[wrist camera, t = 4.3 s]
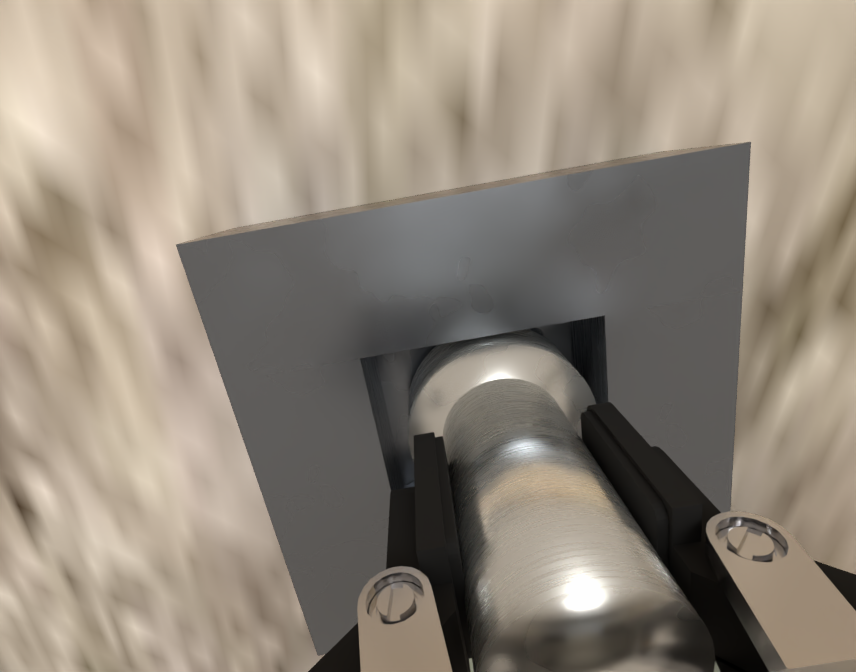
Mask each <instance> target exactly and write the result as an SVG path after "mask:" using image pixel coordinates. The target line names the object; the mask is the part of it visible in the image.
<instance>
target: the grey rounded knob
mask: <svg viewBox="0 0 856 672" xmlns="http://www.w3.org/2000/svg"><path fill="white" fill-rule="evenodd" d="M594 404H596V402H595V398H594V396H593V394H592V391H591V389H590V387H589V386H588V384H587V383H586V381H585V380H584V378H583V377H582V376H581V375H580V373H579V372H578V371H577V370H576V369H575V368H574V367H573V365H572V364H571V363H570V362H569V361H568V360H567V359H566V357H565V356H564V355H563V354H562V353H561V352H560V351H559V350H558V348H557V347H556V346H555V345H554V344H553V343H551V342H550V341H549V340H548V339H547V338H545V337H543V336H542V335H540V334H538V333H537V332H535V331H532V330H530V329H525V330H519V331H513V332H508V333H502V334H496V335H491V336H485V337H479V338H474V339H468V340H462V341H457V342H451V343H445V344H440V345H437V346H436V347H435V348H433V349H432V350H431V351H430V352H429V354H428V355H427V356H426V357H425V358H424V359H423V361H422V363H421V364H420V366H419V367H418V369H417V371H416V373H415V375H414V377H413V380H412V383H411V387H410V392H409V402H408V433H409V447H410V452H411V456H412V459H413V462H414V435H419V434H424V433H430V432H434V434H435V437H440V436H443V440H444V445H445V451H446V456H447V462H448V468H449V475H450V482H451V489H452V496H453V503H454V510H455V517H456V524H457V532H458V539H459V546H460V553H461V560H462V567H463V574H464V581H465V597H464V600H465V609H466V617H467V624H468V632H469V639H470V647H471V654H472V662H473V669H474V672H714V667H715V648H714V644H713V640H712V638H711V635H710V633H709V631H708V629H707V627H706V626H705V624H704V623H703V621H702V620H701V618H700V617H699V615H698V614H697V612H696V611H695V609H694V608H693V606H692V605H691V603H690V602H689V600H688V599H687V597H686V596H685V594H684V593H683V591H682V590H681V588H680V587H679V585H678V584H677V582H676V581H675V579H674V578H673V576H672V575H671V573H670V572H669V570H668V569H667V567H666V566H665V564H664V563H663V561H662V560H661V558H660V557H659V555H658V554H657V552H656V551H655V549H654V548H653V546H652V545H651V543H650V542H649V540H648V539H647V537H646V536H645V534H644V533H643V531H642V530H641V528H640V527H639V525H638V524H637V522H636V521H635V519H634V517H633V516H632V514H631V513H630V511H629V510H628V508H627V507H626V505H625V504H624V502H623V501H622V499H621V498H620V496H619V495H618V493H617V492H616V490H615V489H614V487H613V486H612V484H611V483H610V481H609V480H608V478H607V477H606V475H605V474H604V472H603V471H602V469H601V468H600V466H599V465H598V463H597V462H596V460H595V459H594V457H593V456H592V454H591V453H590V451H589V450H588V448H587V447H586V445H585V444H584V442H583V441H582V432H581V413H582V412H586V411H587V407H588V405H594Z"/></svg>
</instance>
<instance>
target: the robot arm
mask: <svg viewBox="0 0 856 672" xmlns="http://www.w3.org/2000/svg"><path fill="white" fill-rule="evenodd" d="M581 432H582V441H583V442H584V444H585V445H586V447H587V448H588V450H589V451H590V453H591V454H592V456H593V457H594V459H595V460H596V462H597V463H598V465H599V466H600V468H601V469H602V471H603V472H604V474H605V475H606V477H607V478H608V480H609V481H610V483H611V484H612V486H613V487H614V489H615V490H616V492H617V493H618V495H619V496H620V498H621V499H622V501H623V502H624V504H625V505H626V507H627V508H628V510H629V511H630V513H631V514H632V516H633V517H634V519H635V521H636V522H637V524H638V525H639V527H640V528H641V530H642V531H643V533H644V534H645V536H646V537H647V539H648V540H649V542H650V543H651V545H652V546H653V548H654V549H655V551H656V552H657V554H658V555H659V557H660V558H661V560H662V561H663V563H664V564H665V566H666V567H667V569H668V570H669V572H670V573H671V575H672V576H673V578H674V579H675V581H676V582H677V584H678V585H679V587H680V588H681V590H682V591H683V593H684V594H685V596H686V597H687V599H688V600H689V602H690V603H691V605H692V606H693V608H694V609H695V611H696V612H697V614H698V615H699V617H700V618H701V620H702V621H703V623H704V624H705V626H706V627H707V629H708V631H709V633H710V635H711V638H712V640H713V644H714V648H715V667H714V672H856V575H855V574H852V573H849V572H846V571H843V570H840V569H837V568H834V567H831V566H828V565H825V564H822V563H819V562H817V561H814V560H813V559H812V558H811V557H810V556H809V555H808V554H807V552H806V551H805V550H804V549H803V548H802V546H801V545H800V544H799V543H798V542H797V540H796V539H795V538H794V537H793V536H792V535H791V534H790V533H789V532H788V531H787V530H786V529H785V528H784V527H782V526H780V525H779V524H777V523H775V522H774V521H772V520H770V519H767V518H765V517H762V516H760V515H756V514H752V513H747V512H738V511H729V512H724V513H721V512H720V511H719V510H718V509H717V508H716V507H715V506H714V504H713V503H712V502H711V501H710V500H709V499H708V498H707V497H706V496H705V495H704V494H703V493H702V492H701V491H700V489H699V488H698V487H697V486H696V485H695V484H694V483H693V482H692V481H691V480H690V479H689V478H688V477H687V476H686V474H685V473H684V472H683V471H682V470H681V469H680V468H679V467H678V466H677V465H676V464H675V463H674V462H673V461H672V459H671V458H670V457H669V456H668V455H667V454H666V453H665V452H664V451H663V450H662V449H661V448H659V447H657V446H653V447H651V446H650V445H649V444H648V443H647V442H646V440H645V439H644V438H643V437H642V436H641V435H640V434H639V433H638V432H637V430H636V429H635V428H634V427H633V426H632V425H631V424H630V423H629V422H628V421H627V419H626V418H625V417H624V416H623V415H622V414H621V413H620V412H619V411H618V409H617V408H616V407H615V406H614V405H613V404H612V403H611V402H606V403H600V404H594V405H588V407H587V411H586V412H582V413H581ZM414 479H415V487H410V488H404V489H398V490H392V491H391V493H390V506H389V524H388V543H387V561H386V570H384V571H382V572H380V573H378V574H377V575H375V576H374V577H373V578H371V579H370V580H369V581H368V583H367V584H366V585H365V586H364V587H363V589H362V591H361V594H360V596H359V598H358V606H357V611H358V623H357V624H356V625H355V626H354V627H353V628H352V629H351V630H350V631H349V632H348V633H347V634H346V635H345V636H344V637H343V638H342V639H341V640H340V641H339V642H338V643H337V644H336V645H335V646H334V647H333V648H332V649H331V650H330V651H329V652H328V653H327V654H326V655H325V656H324V657H323V658H322V659H321V660H320V661H318V662H317V663H316V664H315V665H314V666H313V667H312V668H311V669H310V670H309V671H308V672H471V671H470V664H469V659H470V658H472V654H471V647H470V639H469V632H468V624H467V617H466V609H465V600H464V597H465V581H464V574H463V567H462V560H461V553H460V546H459V539H458V532H457V524H456V517H455V510H454V503H453V496H452V489H451V482H450V475H449V468H448V462H447V456H446V451H445V445H444V440H443V436H440V437H435V434H434V432H430V433H424V434H419V435H414Z"/></svg>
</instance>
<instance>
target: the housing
mask: <svg viewBox="0 0 856 672" xmlns="http://www.w3.org/2000/svg"><path fill="white" fill-rule="evenodd" d="M750 148H751V142H745V143H736V144H727V145H718V146H709V147H699V148H690V149H681V150H672V151H663V152H657V153H651V154H646V155H640V156H635V157H629V158H623V159H618V160H612V161H607V162H601V163H595V164H590V165H584V166H579V167H573V168H568V169H562V170H556V171H551V172H545V173H540V174H534V175H528V176H523V177H517V178H512V179H506V180H500V181H495V182H489V183H484V184H478V185H472V186H467V187H461V188H456V189H450V190H445V191H439V192H433V193H428V194H422V195H417V196H411V197H405V198H400V199H394V200H389V201H383V202H377V203H372V204H366V205H361V206H355V207H350V208H344V209H338V210H333V211H327V212H322V213H316V214H310V215H305V216H299V217H294V218H288V219H282V220H277V221H271V222H266V223H260V224H255V225H249V226H243V227H238V228H233V229H229V230H226V231H222V232H219V233H215V234H212V235H208V236H205V237H201V238H198V239H194V240H191V241H187V242H184V243H180V244H177V245H176V246H177V249H178V252H179V255H180V258H181V261H182V264H183V267H184V269H185V272H186V275H187V278H188V281H189V284H190V287H191V290H192V293H193V295H194V298H195V301H196V304H197V307H198V310H199V313H200V316H201V319H202V322H203V324H204V327H205V330H206V333H207V336H208V339H209V342H210V345H211V348H212V351H213V353H214V356H215V359H216V362H217V365H218V368H219V371H220V374H221V377H222V379H223V382H224V385H225V388H226V391H227V394H228V397H229V400H230V403H231V406H232V408H233V411H234V414H235V417H236V420H237V423H238V426H239V429H240V432H241V434H242V437H243V440H244V443H245V446H246V449H247V452H248V455H249V458H250V461H251V463H252V466H253V469H254V472H255V475H256V478H257V481H258V484H259V487H260V490H261V492H262V495H263V498H264V501H265V504H266V507H267V510H268V513H269V516H270V518H271V521H272V524H273V527H274V530H275V533H276V536H277V539H278V542H279V545H280V547H281V550H282V553H283V556H284V559H285V562H286V565H287V568H288V571H289V573H290V576H291V579H292V582H293V585H294V588H295V591H296V594H297V597H298V600H299V602H300V605H301V608H302V611H303V614H304V617H305V620H306V623H307V626H308V629H309V631H310V634H311V637H312V640H313V643H314V646H315V649H316V652H317V655H324V654H327V653H328V652H329V651H330V650H331V649H332V648H333V647H334V646H335V645H336V644H337V643H338V642H339V641H340V640H341V639H342V638H343V637H344V636H345V635H346V634H347V633H348V632H349V631H350V630H351V629H352V628H353V627H354V626H355V625H356V624H357V623H358V611H357V606H358V598H359V596H360V594H361V591H362V589H363V587H364V586H365V585H366V584H367V583H368V581H369V580H370V579H371V578H373V577H374V576H375V575H377V574H378V573H380V572H382V571H384V570H386V561H387V543H388V524H389V506H390V493H391V491H392V490H398V489H404V488H410V487H415V479H414V462H413V459H412V456H411V452H410V447H409V433H408V402H409V392H410V387H411V383H412V380H413V377H414V375H415V373H416V371H417V369H418V367H419V366H420V364H421V363H422V361H423V359H424V358H425V357H426V356H427V355H428V354H429V352H430V351H431V350H432V349H433V348H435V347H436V346H437V345H440V344H445V343H451V342H457V341H462V340H468V339H474V338H479V337H485V336H491V335H496V334H502V333H508V332H513V331H519V330H525V329H530V330H532V331H535V332H537V333H538V334H540V335H542V336H543V337H545V338H547V339H548V340H549V341H550V342H551V343H553V344H554V345H555V346H556V347H557V348H558V350H559V351H560V352H561V353H562V354H563V355H564V356H565V357H566V359H567V360H568V361H569V362H570V363H571V364H572V365H573V367H574V368H575V369H576V370H577V371H578V372H579V373H580V375H581V376H582V377H583V378H584V380H585V381H586V383H587V384H588V386H589V387H590V389H591V391H592V394H593V396H594V398H595V402H596V404H600V403H606V402H611V403H612V404H613V405H614V406H615V407H616V408H617V409H618V411H619V412H620V413H621V414H622V415H623V416H624V417H625V418H626V419H627V421H628V422H629V423H630V424H631V425H632V426H633V427H634V428H635V429H636V430H637V432H638V433H639V434H640V435H641V436H642V437H643V438H644V439H645V440H646V442H647V443H648V444H649V445H650V446H651V447H653V446H657V447H659V448H661V449H662V450H663V451H664V452H665V453H666V454H667V455H668V456H669V457H670V458H671V459H672V461H673V462H674V463H675V464H676V465H677V466H678V467H679V468H680V469H681V470H682V471H683V472H684V473H685V474H686V476H687V477H688V478H689V479H690V480H691V481H692V482H693V483H694V484H695V485H696V486H697V487H698V488H699V489H700V491H701V492H702V493H703V494H704V495H705V496H706V497H707V498H708V499H709V500H710V501H711V502H712V503H713V504H714V506H715V507H716V508H717V509H718V510H719V511H720V512H721V513H724V512H729V511H730V506H731V488H732V470H733V452H734V434H735V417H736V399H737V381H738V363H739V345H740V327H741V309H742V291H743V273H744V256H745V238H746V220H747V202H748V184H749V166H750Z"/></svg>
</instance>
